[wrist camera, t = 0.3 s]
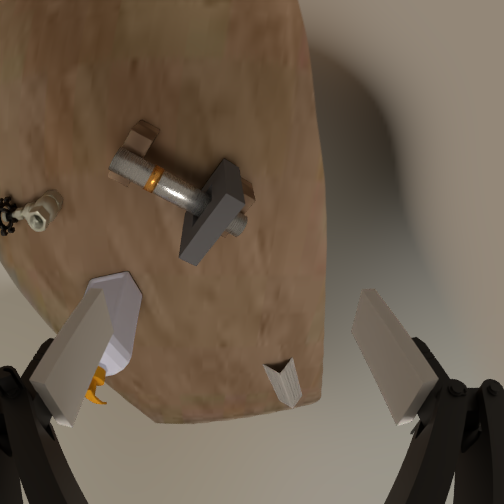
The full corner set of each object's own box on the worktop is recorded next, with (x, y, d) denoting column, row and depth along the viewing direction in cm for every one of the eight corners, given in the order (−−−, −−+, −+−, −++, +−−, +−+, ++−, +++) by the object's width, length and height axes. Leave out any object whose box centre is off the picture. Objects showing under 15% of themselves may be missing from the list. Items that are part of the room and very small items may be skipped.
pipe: (113, 164, 32) (105, 174, 30) (124, 142, 31) (116, 151, 28) (232, 227, 40) (234, 242, 38) (246, 210, 39) (249, 224, 36)
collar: (185, 213, 42) (178, 258, 34) (224, 158, 37) (226, 193, 29) (199, 220, 43) (196, 266, 35) (239, 167, 38) (245, 204, 30)
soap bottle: (106, 303, 54) (82, 407, 36) (89, 278, 49) (55, 387, 32) (144, 296, 54) (128, 408, 36) (129, 270, 49) (102, 388, 31)
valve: (59, 179, 37) (7, 189, 36) (39, 200, 32) (-13, 210, 30) (69, 215, 41) (18, 221, 40) (53, 239, 36) (1, 244, 35)
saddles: (118, 161, 37) (107, 176, 33) (141, 119, 34) (131, 129, 30) (223, 218, 45) (224, 237, 41) (251, 183, 42) (255, 200, 38)
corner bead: (303, 393, 92) (306, 406, 88) (277, 399, 92) (279, 411, 88) (293, 354, 73) (297, 371, 70) (260, 362, 74) (262, 378, 70)
